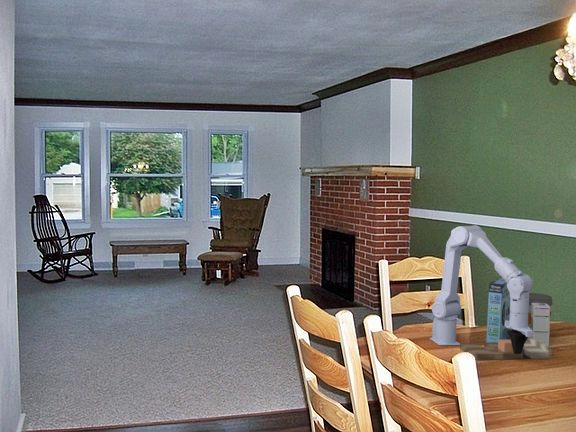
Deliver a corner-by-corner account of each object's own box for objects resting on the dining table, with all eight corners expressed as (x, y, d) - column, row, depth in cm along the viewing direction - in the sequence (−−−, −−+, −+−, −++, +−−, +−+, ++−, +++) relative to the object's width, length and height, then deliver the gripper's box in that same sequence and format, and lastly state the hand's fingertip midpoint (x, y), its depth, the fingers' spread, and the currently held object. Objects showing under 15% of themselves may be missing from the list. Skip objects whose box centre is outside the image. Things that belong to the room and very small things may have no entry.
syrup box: (549, 346, 227) (551, 306, 226) (532, 345, 228) (533, 305, 227) (546, 342, 232) (547, 303, 231) (529, 341, 233) (530, 302, 233)
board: (459, 348, 222) (460, 338, 221) (529, 347, 225) (529, 337, 225) (477, 360, 208) (477, 349, 208) (551, 358, 211) (551, 348, 211)
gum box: (498, 334, 243) (500, 275, 241) (511, 336, 240) (514, 276, 239) (485, 345, 226) (487, 282, 225) (500, 348, 224) (502, 283, 222)
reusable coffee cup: (550, 332, 248) (551, 294, 247) (552, 340, 236) (553, 300, 235) (515, 329, 252) (517, 291, 251) (516, 336, 240) (517, 297, 239)
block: (497, 348, 215) (498, 339, 215) (510, 348, 216) (510, 339, 216) (504, 352, 211) (504, 343, 211) (517, 351, 212) (517, 342, 211)
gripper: (496, 307, 212) (495, 347, 213) (518, 317, 198) (517, 360, 199) (516, 307, 213) (515, 347, 214) (539, 317, 199) (538, 359, 200)
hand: (517, 353), depth 207 cm, fingers closed
